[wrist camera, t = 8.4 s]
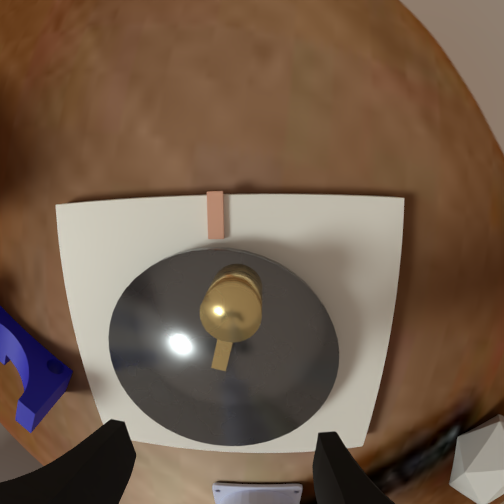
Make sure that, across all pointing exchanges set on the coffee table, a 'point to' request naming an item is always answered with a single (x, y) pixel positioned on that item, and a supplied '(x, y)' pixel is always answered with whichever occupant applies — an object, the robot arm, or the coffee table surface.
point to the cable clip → (32, 372)
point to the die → (480, 462)
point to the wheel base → (256, 241)
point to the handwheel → (223, 346)
